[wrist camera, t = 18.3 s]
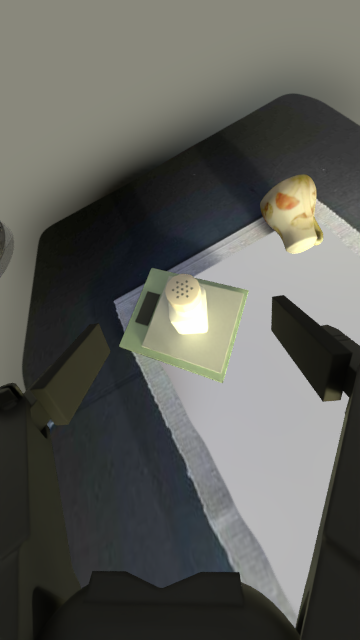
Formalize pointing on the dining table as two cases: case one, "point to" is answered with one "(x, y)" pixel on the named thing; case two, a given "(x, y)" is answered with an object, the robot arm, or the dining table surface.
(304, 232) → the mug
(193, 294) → the pepper shaker
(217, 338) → the scale
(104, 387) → the dining table surface
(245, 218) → the dining table surface
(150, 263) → the dining table surface
